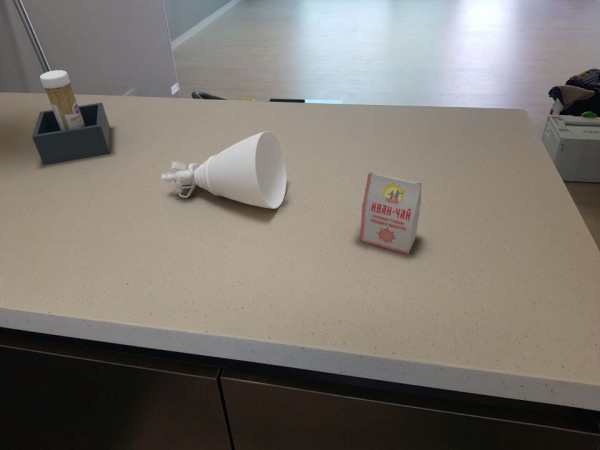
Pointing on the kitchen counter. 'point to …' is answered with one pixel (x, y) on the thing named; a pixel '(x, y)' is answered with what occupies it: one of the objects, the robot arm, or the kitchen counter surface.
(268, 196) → the rocket engine
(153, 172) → the kitchen counter surface
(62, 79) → the sprinkles bottle
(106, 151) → the box
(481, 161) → the kitchen counter surface
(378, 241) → the tea bag
